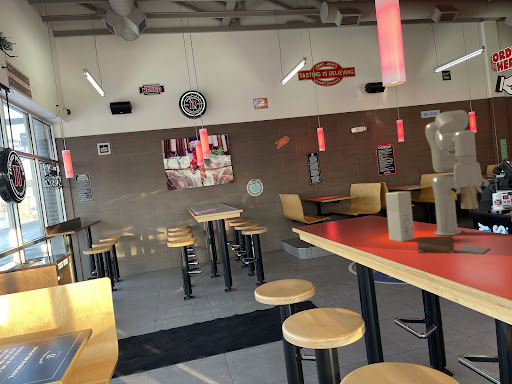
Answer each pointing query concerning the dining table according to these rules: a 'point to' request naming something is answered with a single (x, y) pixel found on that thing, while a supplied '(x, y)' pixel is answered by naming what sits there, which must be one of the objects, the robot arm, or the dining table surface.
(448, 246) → the screen
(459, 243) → the dining table surface
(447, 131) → the robot arm
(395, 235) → the tall white carton
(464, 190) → the box
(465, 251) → the mat
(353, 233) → the dining table surface
